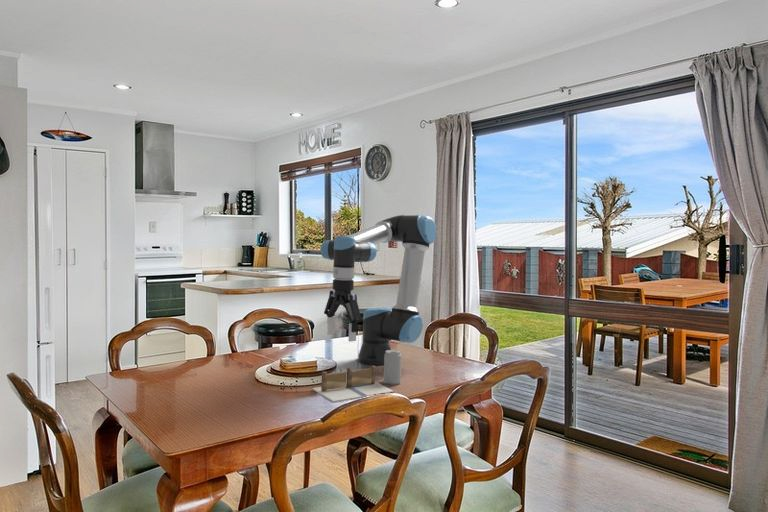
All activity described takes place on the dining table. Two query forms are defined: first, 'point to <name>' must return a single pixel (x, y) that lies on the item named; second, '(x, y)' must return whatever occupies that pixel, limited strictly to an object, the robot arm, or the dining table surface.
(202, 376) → the dining table surface
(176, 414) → the dining table surface
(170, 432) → the dining table surface
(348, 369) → the fence fixed
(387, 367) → the beverage can
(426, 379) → the dining table surface
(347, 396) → the card
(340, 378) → the fence panel
